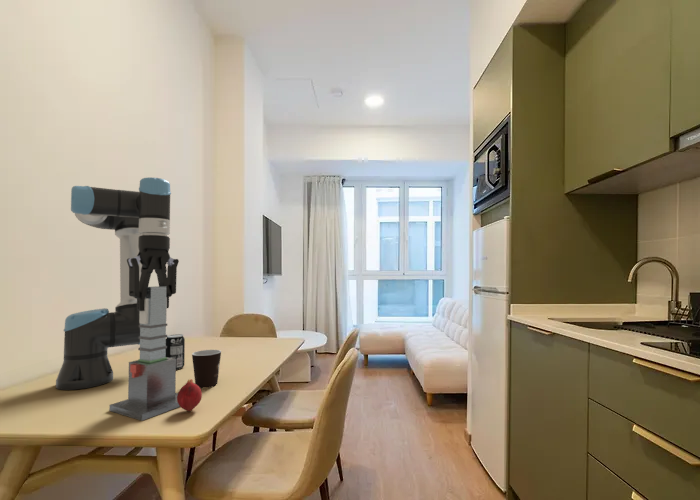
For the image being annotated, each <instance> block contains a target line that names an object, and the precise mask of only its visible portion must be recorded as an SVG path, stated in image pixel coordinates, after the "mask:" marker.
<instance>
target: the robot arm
mask: <svg viewBox="0 0 700 500" xmlns="http://www.w3.org/2000/svg"><path fill="white" fill-rule="evenodd" d="M171 194H172V191H171V183H170V182H169V180H166V179H165V178H159V177H143V178H140V181H139V186H138V191H135V190H124V189H113V188H105V187H104V188H103V187H95V186H89V185H84V186H83V185H74V186H72V187H71V194H70V211H71V212H72V213H73V214H74V216H75V218H76V219H77V220H78V221H80V222H81V223H82V224H85V225H87V226H89V227H93V228H96V229H101V230H112V231H113V230H114V235H115V236H116V237H117V238H118V239H119V270H120V271H119V273H120V274H119V277H120V279H119V282H120V283H119V286H120V287H119V288H120V293H119V294H120V302H119V303H118V304H117V305H116V306H115V309H114V310H115V311H113V312H110V311H109V309H108V308H96V309H89V310H84V311H79V312H74V313H72V314H69V315H68V316H67V317H66V318H65V320H64V329H63V332H64V337H63V338H64V340H63V342H64V343H63V362H62V364H61V367H60V370H59V373H58V375H57V377H56V380H55V388H56V389H57V390H61V391H72V390H73V391H74V390H83V389H89V388H93V387H98V386H101V385H105V384H108V383H109V382H112V381H113V380H114V370H113V367H112V365H111V362H110V360H109V356H108V349H109V348H116V347H126V346H135V345H139V346H140V339H139V336H140V327H139V325H140V323H141V324H148V314H149V299H147V298H145V297H146V294H147V289H148V287H149V284H150V281H151V276H152V274H153V272H154V273H155V274H156V277H157V282H158V286H166V321H167V320H168V319H167V311H168V309H169V308H170V307H169V306H170V298H171V297H172V296H173V295H175V294H176V293H177V274H178V273H177V272H178V271H177V268H178V265H179V259H178V258H172V257H171V256H170V252H169V250H170V245H171V244H170V243H171V238H170V236H169V235H170V234H171V232H170V231H171V230H170V229H171V227H170V226H171Z"/></svg>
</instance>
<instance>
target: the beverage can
mask: <svg viewBox="0 0 700 500" xmlns="http://www.w3.org/2000/svg"><path fill="white" fill-rule="evenodd" d="M185 339H186V338H185V337H184V334H182V333H181V334H179V333H178V334H175V333H174V334H169V335H168V334H167V337H166V346H167V348H166V357H168V358H174V359H176V371H177V370H182V369H183V368H184V366H185V359H186V358H185V348H186V347H185V345H186V343H185V342H186V341H185Z"/></svg>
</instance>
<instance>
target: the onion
mask: <svg viewBox="0 0 700 500" xmlns="http://www.w3.org/2000/svg"><path fill="white" fill-rule="evenodd" d="M202 392H203V391H202V388H200V387H199V386H198V385H196V384H195V382H194V381H193V379H191V378H189V379H188V380H187V382H186V383H185V384H184V385H182V387H181V388H180V389H179V391H178V392H177V393H178V395H177V402H178V404H179V406H180V407H179V408H181V410H184V411H186V412H189V413H190V412H191V411H193V410H194V409H195V408H196V407H197V406H198V405H199V404H200V402H201V400H202V398H203V397H202V396H203V394H202Z"/></svg>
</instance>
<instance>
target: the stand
mask: <svg viewBox="0 0 700 500" xmlns="http://www.w3.org/2000/svg"><path fill="white" fill-rule="evenodd" d="M176 371H177V370H176V359H174V358H168V357H167V360H164V361H159V362H155V363H151V364H146V363H141V362H138V359H136V360H133V361H129V362H128V383H127V384H128V385H127V386H128V388H127V389H128V390H127V391H128V392H127V393H128V395H127V399H124V400H120V401H117V402H115V403H111V404H109V407H108V408H109V409H108V410H109V411H110V412H113V413H116V414H119V415H122V416H125V417H128V418H131V419H136V420H138V421H145V420H148V419H151V418H153V417H156V416H160V415H161V414H165V413H166V412H170V411H172V410H175V409H178V408H181V407H180V406H179V404H178V402H177V395H178V392H176V384H177V383H176V382H177V381H176V379H177V376H176V373H177V372H176Z"/></svg>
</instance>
